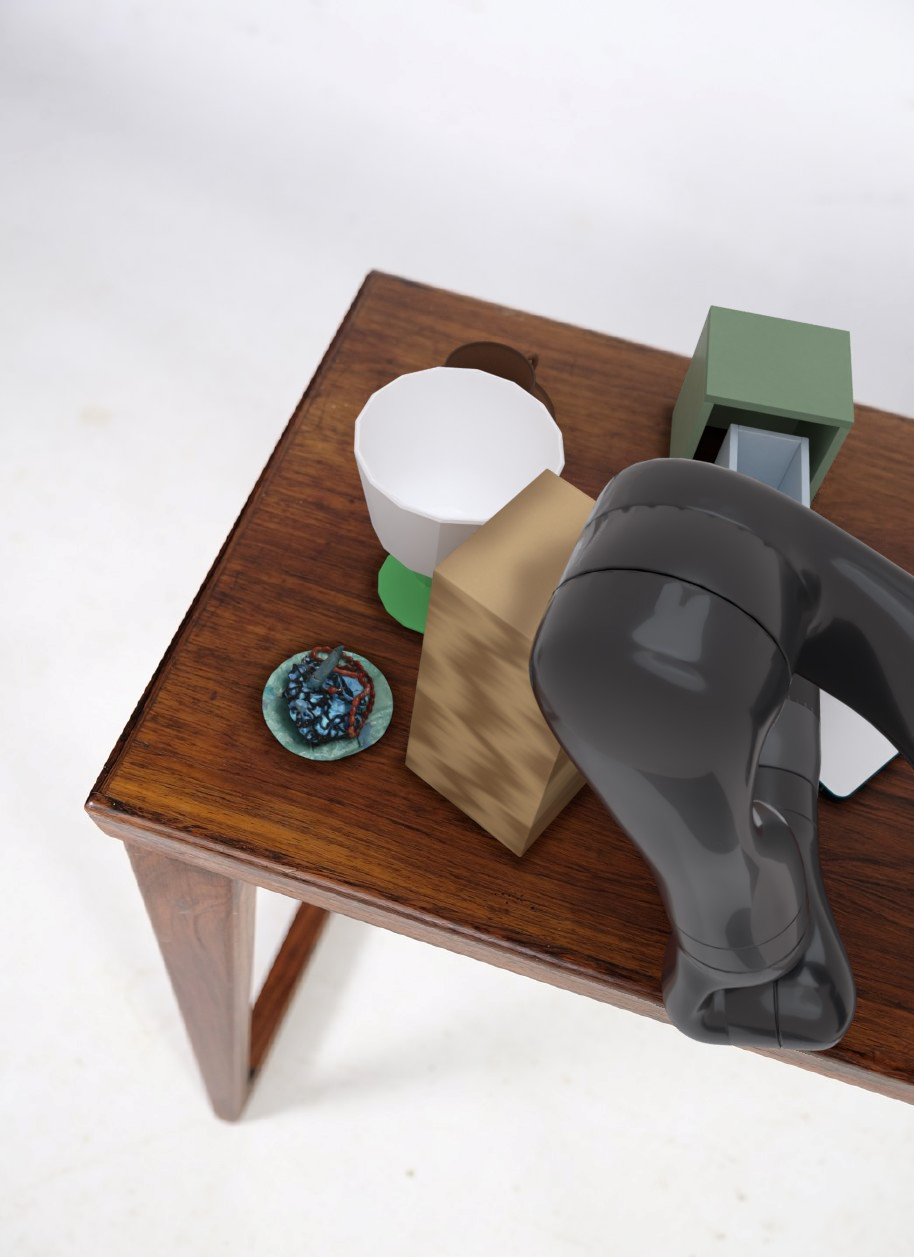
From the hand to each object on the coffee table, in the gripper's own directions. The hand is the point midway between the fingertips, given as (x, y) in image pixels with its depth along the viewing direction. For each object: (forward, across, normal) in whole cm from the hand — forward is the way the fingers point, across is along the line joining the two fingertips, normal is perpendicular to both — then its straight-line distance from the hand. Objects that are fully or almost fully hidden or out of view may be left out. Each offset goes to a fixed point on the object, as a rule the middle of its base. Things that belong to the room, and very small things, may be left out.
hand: (762, 534), depth 86 cm
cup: (-5, +22, +8) cm, 24 cm away
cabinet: (+13, 0, +7) cm, 15 cm away
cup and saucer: (+12, +22, +7) cm, 26 cm away
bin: (+2, 0, +6) cm, 7 cm away
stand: (-18, +15, +7) cm, 25 cm away
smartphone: (-9, -4, +7) cm, 12 cm away
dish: (-16, +28, +8) cm, 33 cm away
